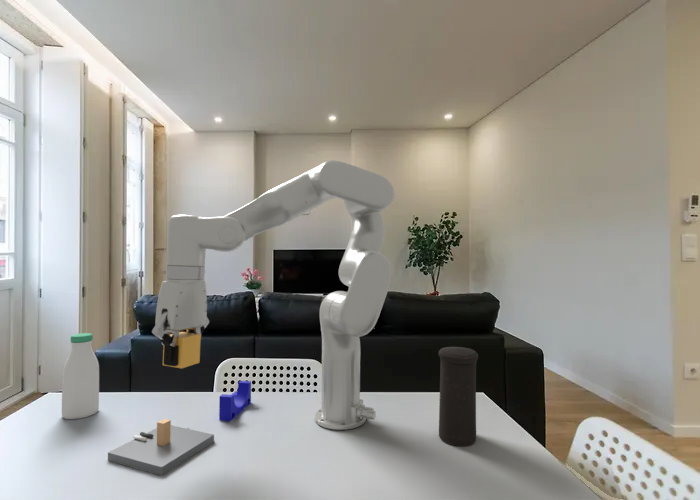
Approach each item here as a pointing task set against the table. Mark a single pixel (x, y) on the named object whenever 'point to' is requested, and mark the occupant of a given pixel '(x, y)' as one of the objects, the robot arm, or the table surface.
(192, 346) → the mustard yellow cube
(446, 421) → the container
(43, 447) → the table surface
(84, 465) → the table surface
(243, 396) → the blue arch bracket
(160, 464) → the plate
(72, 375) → the milk bottle
